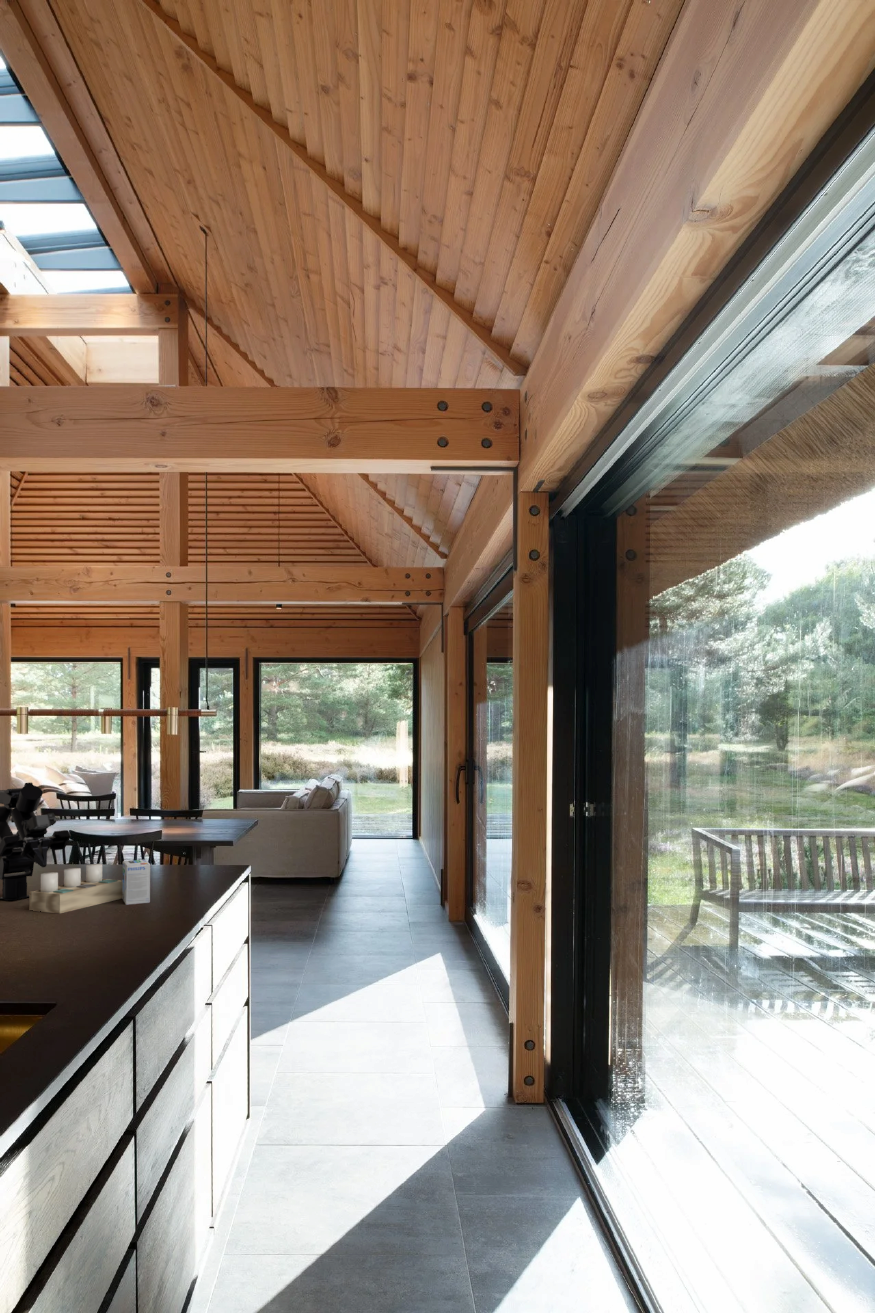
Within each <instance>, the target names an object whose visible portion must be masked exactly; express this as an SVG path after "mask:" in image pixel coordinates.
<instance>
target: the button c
mask: <svg viewBox="0 0 875 1313" xmlns="http://www.w3.org/2000/svg"><path fill="white" fill-rule="evenodd" d="M102 879H103V864H102V863H91V864H86V865H85V880H86V882H89V883H96V882H99V881H102Z"/></svg>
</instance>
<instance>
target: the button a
mask: <svg viewBox="0 0 875 1313" xmlns="http://www.w3.org/2000/svg"><path fill="white" fill-rule="evenodd" d="M58 886H59V872H56V871H55V872H51V871H50V872H44V873H43V872H42V873H40V889H41V891H40V892H46V893H49V892H53V891H57V890H58Z"/></svg>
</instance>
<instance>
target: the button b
mask: <svg viewBox="0 0 875 1313" xmlns="http://www.w3.org/2000/svg"><path fill="white" fill-rule="evenodd" d="M81 876H82V868H81V867H69V868H64V869H63V885H64V887H70V888H73V887H76V886H80V885H81V881H82V878H81Z"/></svg>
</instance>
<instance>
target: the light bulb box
mask: <svg viewBox="0 0 875 1313" xmlns="http://www.w3.org/2000/svg"><path fill="white" fill-rule="evenodd" d="M122 880H123V881H122V901H123V902H124V904H125V905H126V906H127V905H138V904H149V903H150V902H151V863H149V861H148V860H147V859H135V860H123V861H122Z"/></svg>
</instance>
